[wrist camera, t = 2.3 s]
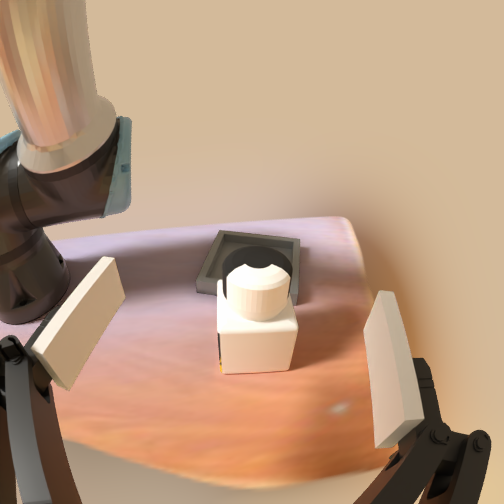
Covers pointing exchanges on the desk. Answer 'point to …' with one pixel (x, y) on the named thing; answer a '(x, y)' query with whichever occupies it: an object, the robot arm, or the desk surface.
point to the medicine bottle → (255, 312)
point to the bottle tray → (236, 240)
